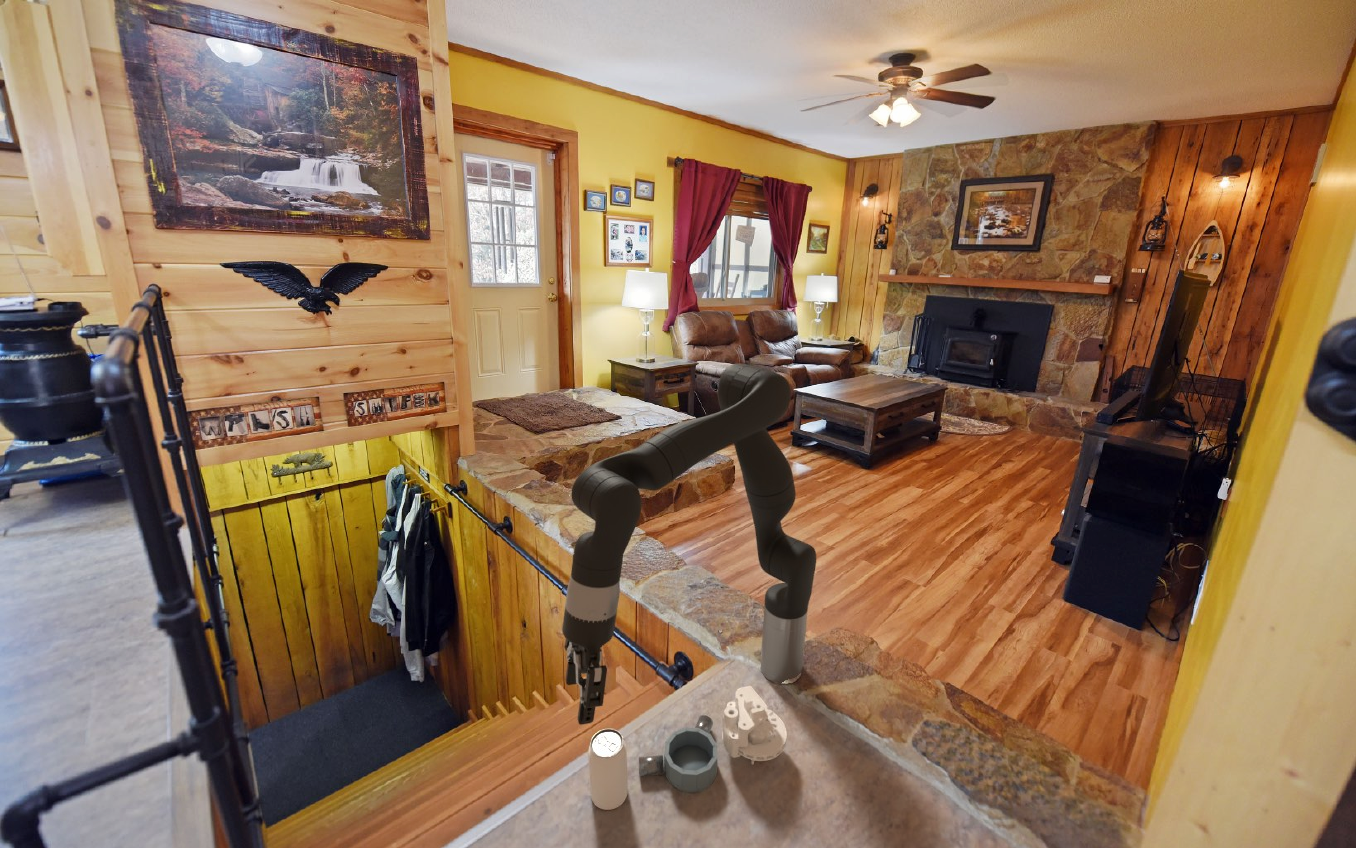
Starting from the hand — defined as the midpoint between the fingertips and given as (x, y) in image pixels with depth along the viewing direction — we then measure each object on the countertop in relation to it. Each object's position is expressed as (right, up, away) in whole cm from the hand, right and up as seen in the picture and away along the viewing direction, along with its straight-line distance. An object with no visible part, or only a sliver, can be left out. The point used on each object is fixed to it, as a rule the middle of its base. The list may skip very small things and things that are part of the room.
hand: (578, 701), depth 83 cm
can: (+3, -24, +14) cm, 28 cm away
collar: (+17, -22, +19) cm, 34 cm away
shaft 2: (+20, -20, +26) cm, 38 cm away
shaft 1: (+10, -22, +18) cm, 30 cm away
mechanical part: (+29, -21, +23) cm, 42 cm away
